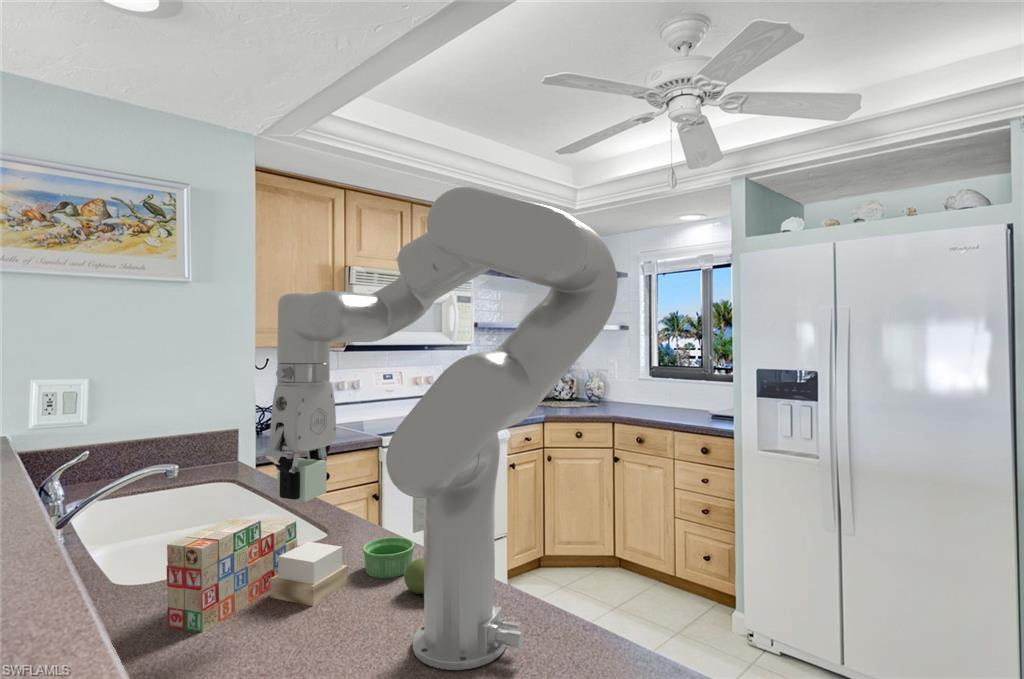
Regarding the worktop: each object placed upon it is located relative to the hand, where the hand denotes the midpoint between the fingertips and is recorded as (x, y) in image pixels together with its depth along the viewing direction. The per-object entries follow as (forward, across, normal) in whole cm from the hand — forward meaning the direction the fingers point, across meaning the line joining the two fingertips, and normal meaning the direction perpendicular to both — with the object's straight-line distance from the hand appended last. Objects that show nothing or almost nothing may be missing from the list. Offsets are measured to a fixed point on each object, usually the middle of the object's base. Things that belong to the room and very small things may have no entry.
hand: (302, 491), depth 86 cm
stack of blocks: (+19, 0, +12) cm, 22 cm away
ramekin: (+18, +17, -5) cm, 25 cm away
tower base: (+18, +6, +3) cm, 19 cm away
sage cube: (+1, 0, 0) cm, 1 cm away
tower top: (+15, +5, +2) cm, 16 cm away
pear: (+18, +10, -17) cm, 27 cm away
